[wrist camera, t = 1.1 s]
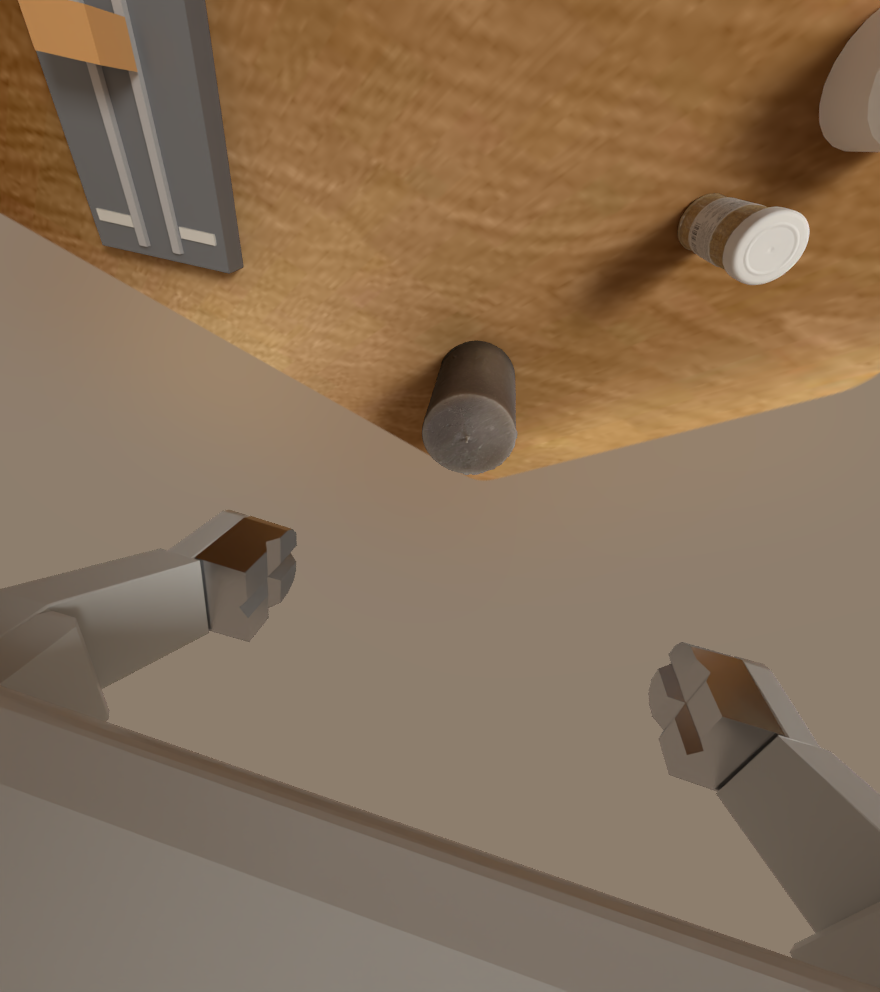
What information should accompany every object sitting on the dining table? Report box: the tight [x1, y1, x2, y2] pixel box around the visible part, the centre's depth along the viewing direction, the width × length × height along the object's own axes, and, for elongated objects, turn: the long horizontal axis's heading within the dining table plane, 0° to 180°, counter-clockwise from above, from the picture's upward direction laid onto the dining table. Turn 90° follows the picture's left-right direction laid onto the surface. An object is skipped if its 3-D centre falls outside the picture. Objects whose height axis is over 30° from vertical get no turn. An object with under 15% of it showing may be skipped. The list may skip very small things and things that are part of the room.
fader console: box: [36, 0, 243, 273], centre depth 37 cm, size 22×14×4 cm, turn 170°
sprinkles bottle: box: [678, 193, 809, 285], centre depth 33 cm, size 5×4×14 cm
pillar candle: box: [422, 341, 517, 475], centre depth 45 cm, size 10×10×15 cm
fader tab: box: [18, 0, 138, 72], centre depth 31 cm, size 3×5×5 cm, turn 80°
